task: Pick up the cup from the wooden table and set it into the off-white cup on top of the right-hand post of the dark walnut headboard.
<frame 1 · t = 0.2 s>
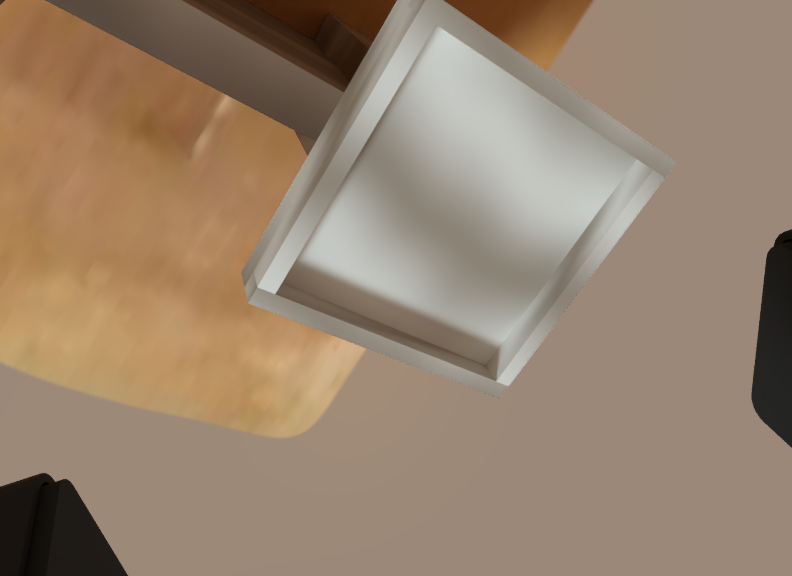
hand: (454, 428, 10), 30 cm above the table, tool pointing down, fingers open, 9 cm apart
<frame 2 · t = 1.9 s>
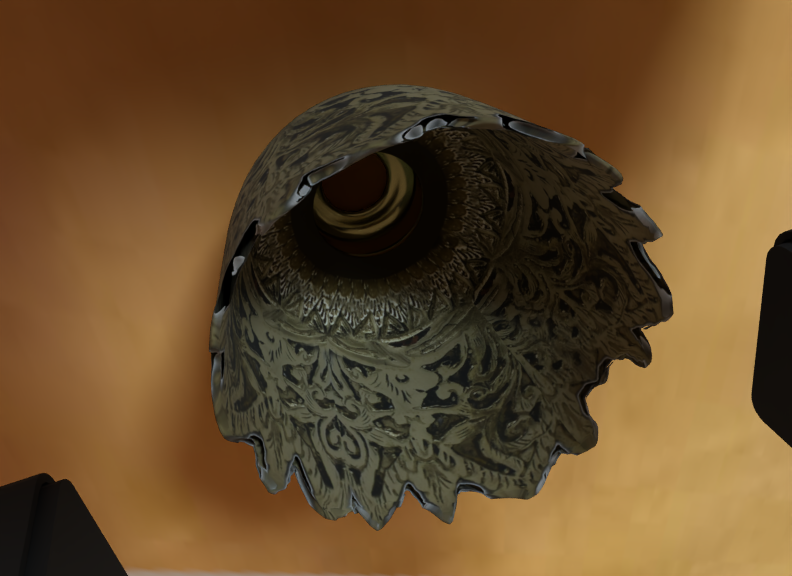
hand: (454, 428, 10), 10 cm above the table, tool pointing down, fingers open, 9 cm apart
cup: (352, 177, 18), on the table
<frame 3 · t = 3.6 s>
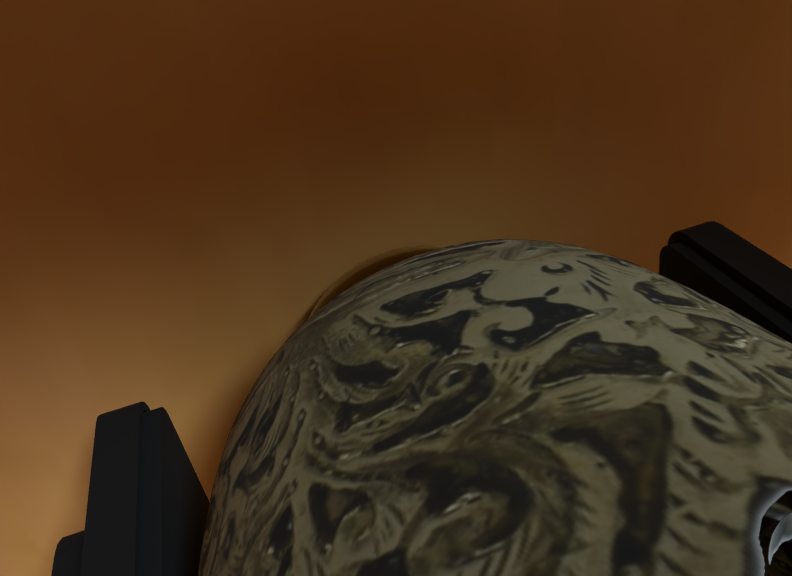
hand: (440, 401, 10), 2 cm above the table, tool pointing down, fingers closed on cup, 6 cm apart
cup: (399, 326, 12), on the table, touching gripper
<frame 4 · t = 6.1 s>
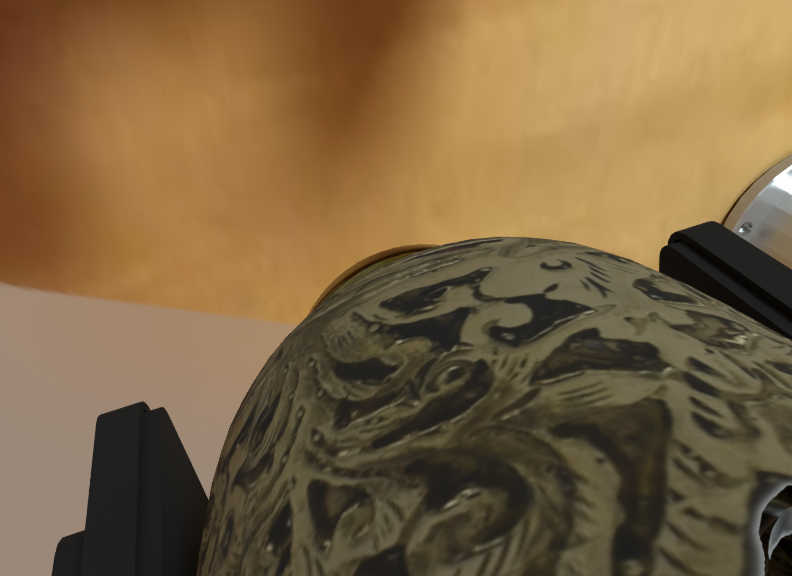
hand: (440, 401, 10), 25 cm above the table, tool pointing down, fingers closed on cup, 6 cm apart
cup: (397, 325, 12), point 23 cm above the table, touching gripper
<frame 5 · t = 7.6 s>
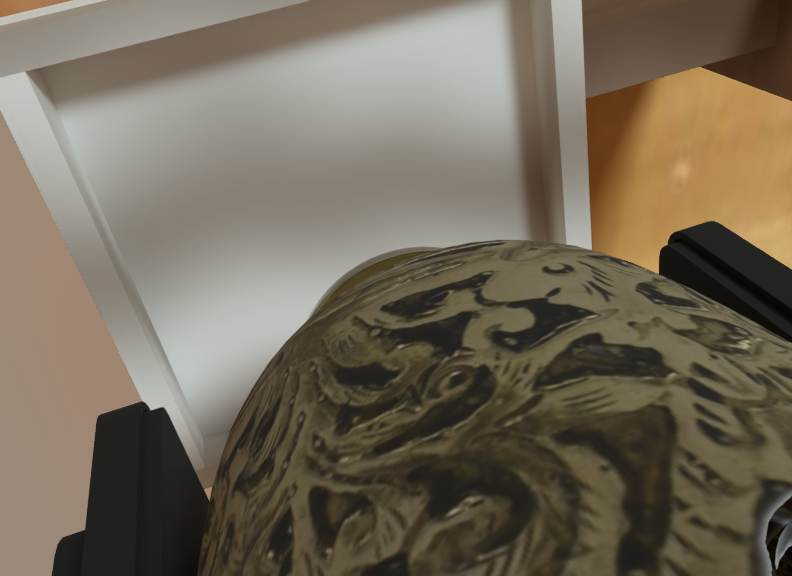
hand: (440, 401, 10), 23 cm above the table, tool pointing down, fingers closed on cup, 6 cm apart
cup: (398, 327, 12), point 22 cm above the table, touching gripper
when the fingers open (20 cm above the table, at t = 8.7 s): cup drops 1 cm, resting on headboard.
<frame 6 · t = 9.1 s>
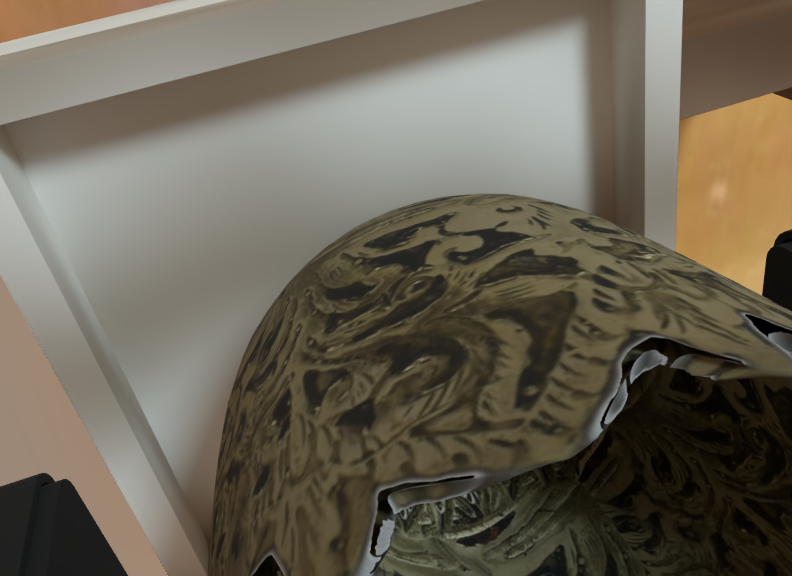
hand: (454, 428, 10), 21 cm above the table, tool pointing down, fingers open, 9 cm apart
headboard: (477, 8, 28), on the table
cup: (391, 288, 13), point 17 cm above the table, touching headboard
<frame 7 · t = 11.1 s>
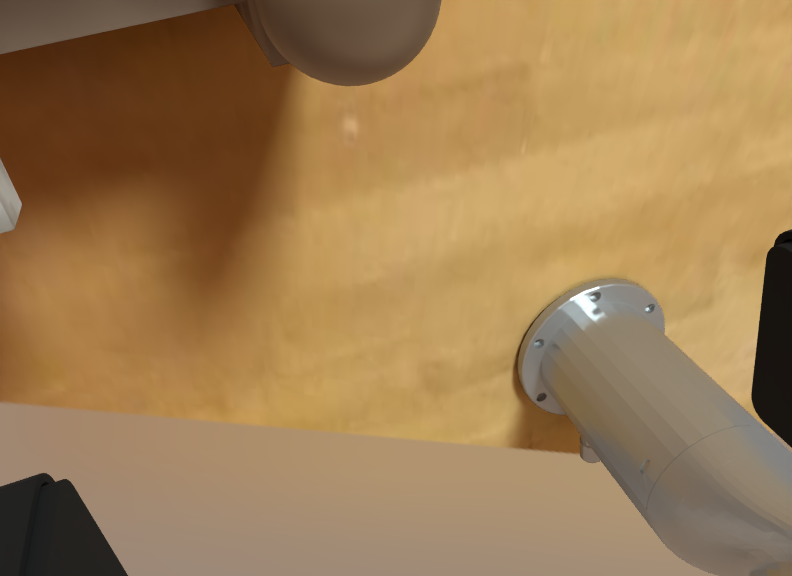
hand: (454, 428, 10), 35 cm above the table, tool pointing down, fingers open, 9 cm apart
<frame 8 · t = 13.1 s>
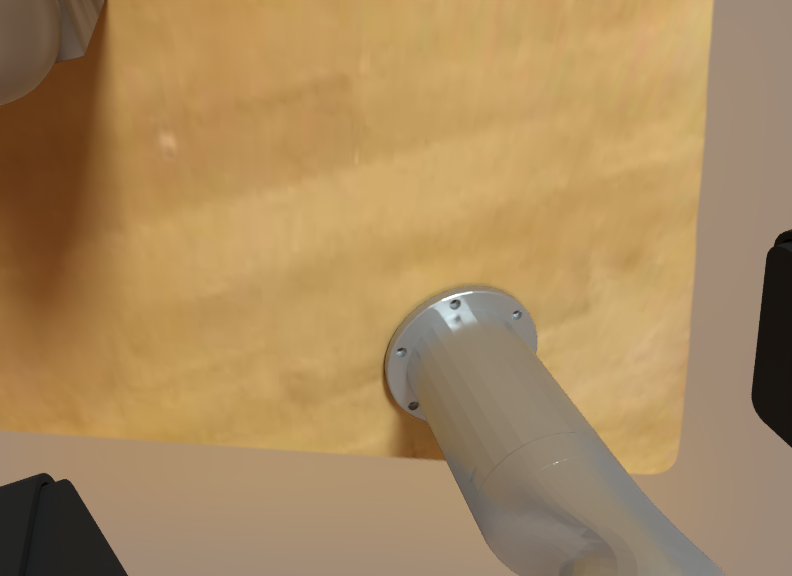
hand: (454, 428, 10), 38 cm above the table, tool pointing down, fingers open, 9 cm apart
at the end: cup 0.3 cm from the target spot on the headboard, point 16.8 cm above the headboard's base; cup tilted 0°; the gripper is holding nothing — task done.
